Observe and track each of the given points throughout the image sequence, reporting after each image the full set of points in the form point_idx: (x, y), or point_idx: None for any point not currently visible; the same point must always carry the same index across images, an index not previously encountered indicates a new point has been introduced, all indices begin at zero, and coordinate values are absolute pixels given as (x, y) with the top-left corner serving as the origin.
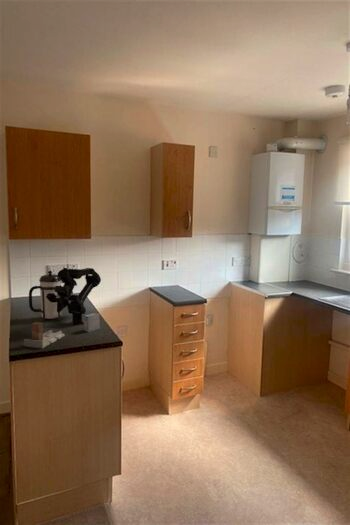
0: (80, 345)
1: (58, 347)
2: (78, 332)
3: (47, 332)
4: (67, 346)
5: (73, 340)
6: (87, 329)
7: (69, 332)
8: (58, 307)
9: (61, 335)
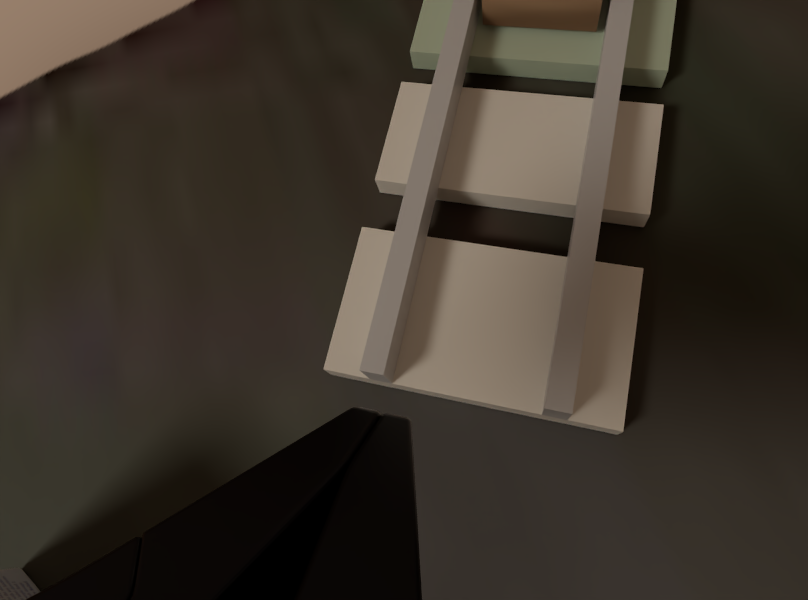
0: (87, 86)
1: (289, 2)
2: None
3: (565, 279)
4: (207, 41)
5: (179, 212)
6: (6, 589)
7: None
8: (331, 510)
9: (345, 293)
